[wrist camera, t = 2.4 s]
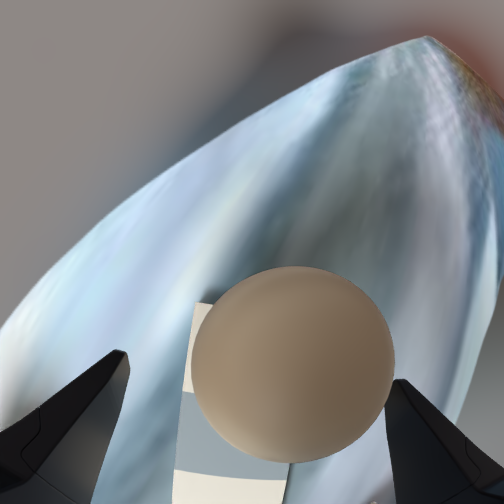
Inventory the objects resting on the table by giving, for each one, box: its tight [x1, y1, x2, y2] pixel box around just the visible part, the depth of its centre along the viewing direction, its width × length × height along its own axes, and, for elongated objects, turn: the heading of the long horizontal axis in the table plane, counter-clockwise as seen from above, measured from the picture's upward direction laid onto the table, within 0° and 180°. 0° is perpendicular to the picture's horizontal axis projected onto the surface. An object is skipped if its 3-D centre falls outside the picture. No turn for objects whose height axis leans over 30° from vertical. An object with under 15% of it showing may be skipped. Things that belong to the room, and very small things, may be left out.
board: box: [172, 302, 290, 504], centre depth 14 cm, size 22×7×1 cm, turn 173°
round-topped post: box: [191, 266, 395, 463], centre depth 10 cm, size 5×5×14 cm
